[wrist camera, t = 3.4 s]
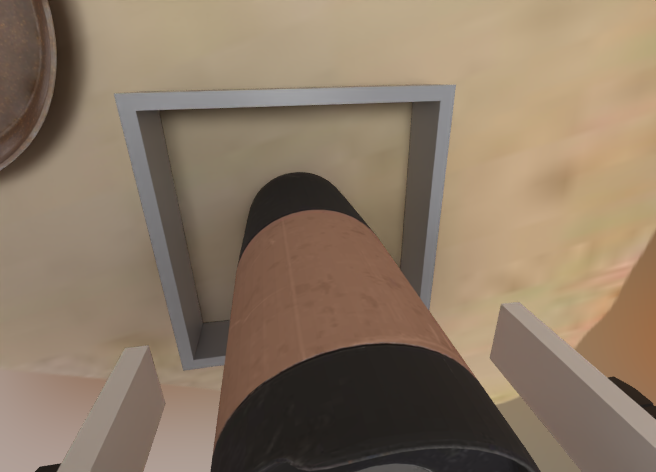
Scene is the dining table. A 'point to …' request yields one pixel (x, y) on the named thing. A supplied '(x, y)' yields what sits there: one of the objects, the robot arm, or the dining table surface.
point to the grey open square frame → (147, 132)
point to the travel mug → (343, 355)
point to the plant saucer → (24, 73)
